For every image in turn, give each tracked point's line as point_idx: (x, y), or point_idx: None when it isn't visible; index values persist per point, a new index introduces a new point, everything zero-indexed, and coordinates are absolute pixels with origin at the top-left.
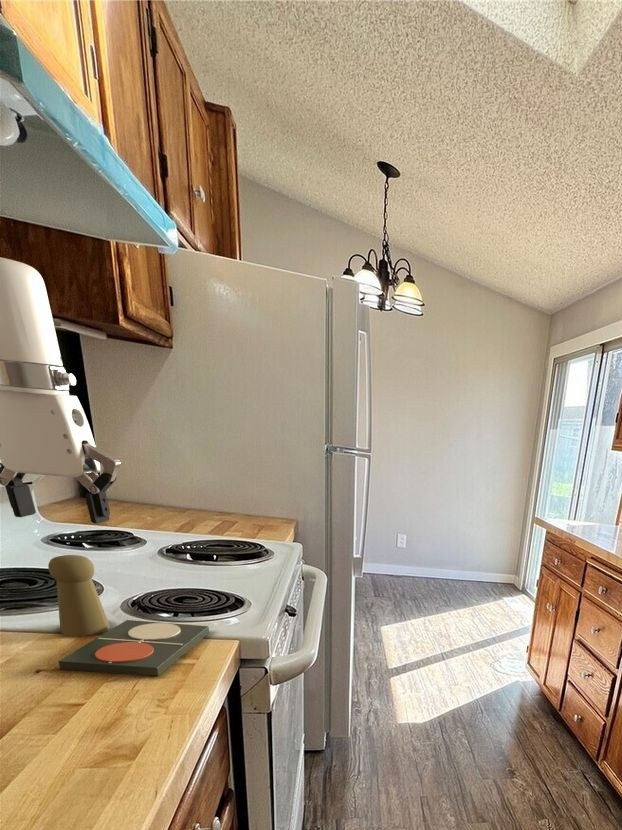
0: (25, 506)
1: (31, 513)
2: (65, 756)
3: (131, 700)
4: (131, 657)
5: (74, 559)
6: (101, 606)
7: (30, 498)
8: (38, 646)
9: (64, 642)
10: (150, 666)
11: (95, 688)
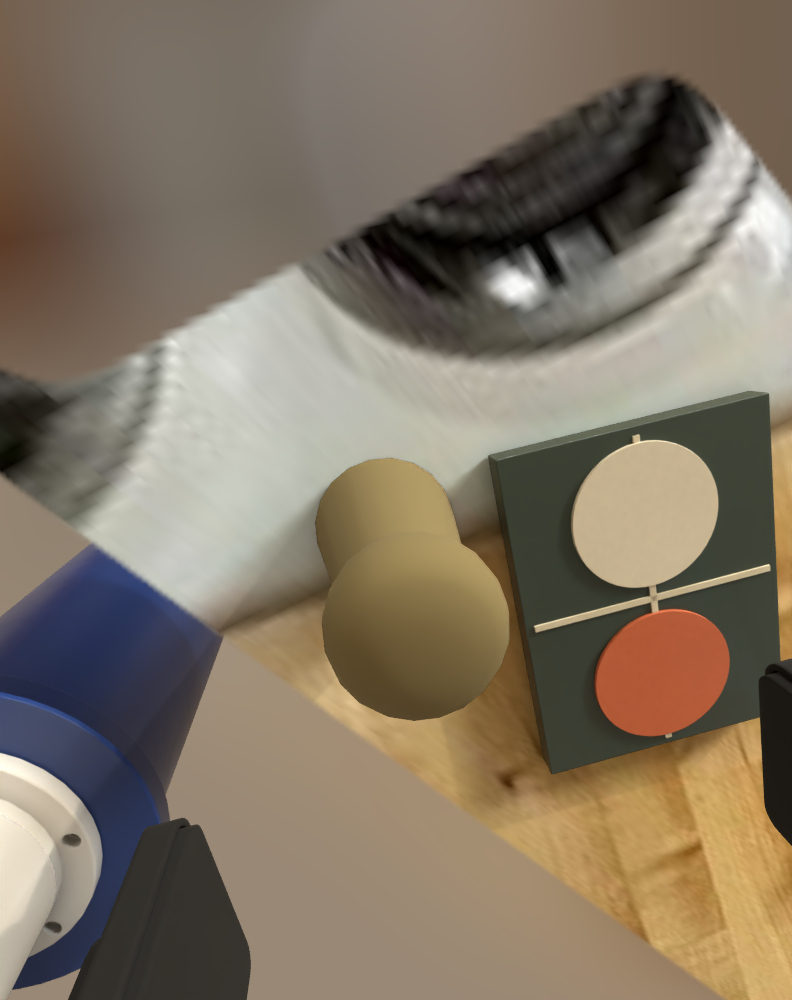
0: (215, 975)
1: (216, 869)
2: (781, 960)
3: None
4: (701, 697)
5: (476, 670)
6: (450, 517)
7: (165, 974)
8: None
9: None
10: None
11: (676, 791)
